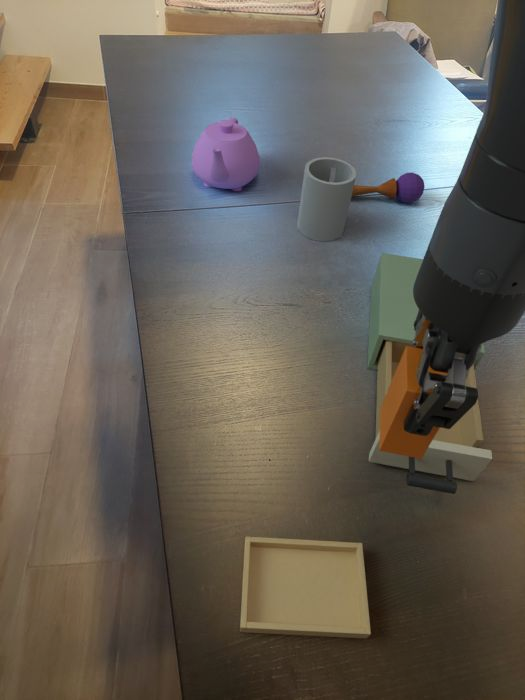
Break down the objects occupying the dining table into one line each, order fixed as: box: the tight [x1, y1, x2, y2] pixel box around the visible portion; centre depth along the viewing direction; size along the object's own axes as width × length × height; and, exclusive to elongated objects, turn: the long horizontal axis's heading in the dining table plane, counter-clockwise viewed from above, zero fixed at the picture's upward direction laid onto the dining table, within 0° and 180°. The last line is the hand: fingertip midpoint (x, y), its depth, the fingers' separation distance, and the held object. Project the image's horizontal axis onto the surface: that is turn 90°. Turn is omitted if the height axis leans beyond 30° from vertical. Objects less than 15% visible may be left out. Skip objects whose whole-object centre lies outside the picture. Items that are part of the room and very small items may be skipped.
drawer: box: [368, 340, 493, 495], centre depth 67 cm, size 22×13×6 cm, turn 170°
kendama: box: [351, 172, 425, 204], centre depth 105 cm, size 6×6×20 cm
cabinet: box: [366, 252, 486, 371], centre depth 79 cm, size 19×15×8 cm
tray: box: [239, 536, 372, 639], centre depth 55 cm, size 13×9×2 cm
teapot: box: [191, 117, 261, 192], centre depth 103 cm, size 20×14×12 cm
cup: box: [296, 156, 357, 242], centre depth 95 cm, size 9×9×12 cm
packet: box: [379, 346, 448, 459], centre depth 46 cm, size 5×4×10 cm
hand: (414, 403), depth 46 cm, fingers closed on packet, 5 cm apart
